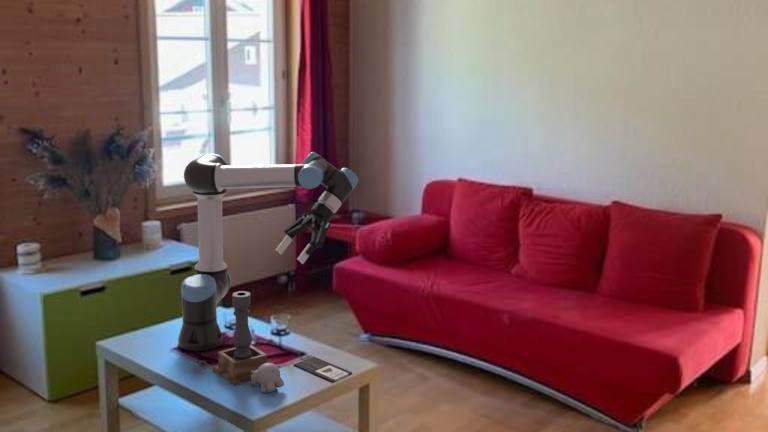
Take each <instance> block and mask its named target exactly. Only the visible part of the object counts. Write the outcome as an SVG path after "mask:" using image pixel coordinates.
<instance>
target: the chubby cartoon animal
mask: <svg viewBox="0 0 768 432" xmlns="http://www.w3.org/2000/svg"><path fill="white" fill-rule="evenodd" d="M251 372H252V374H251V378H252V379H251V381H250V382H251V385H253V386H258V385H260V392H261V393H271V392H274V391H276V389H277V388H278V389H279V388H283V387H284V385H285V382H284V380H283V378H282V377H281V371H280V369H279V367H278V366H277V364H274V363H272V362H267V363H265V364H262V365H261V366H260V367H259V368H258V370H255V371H253V370H251Z"/></svg>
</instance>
